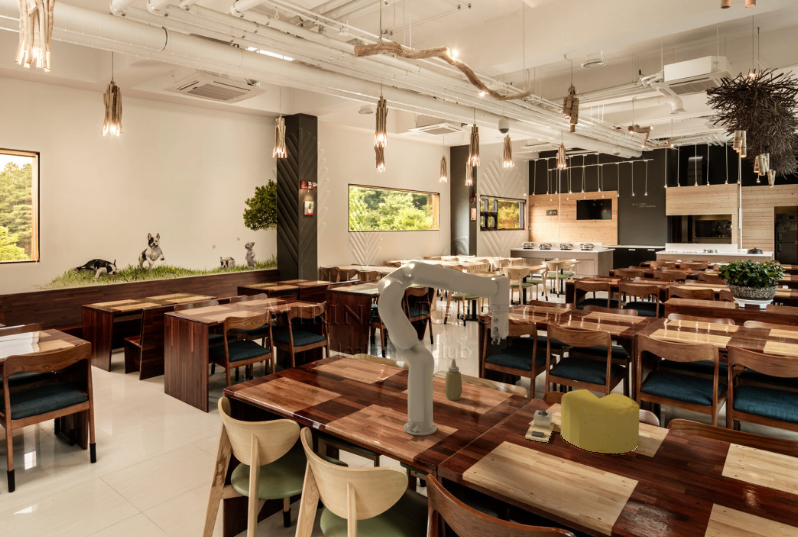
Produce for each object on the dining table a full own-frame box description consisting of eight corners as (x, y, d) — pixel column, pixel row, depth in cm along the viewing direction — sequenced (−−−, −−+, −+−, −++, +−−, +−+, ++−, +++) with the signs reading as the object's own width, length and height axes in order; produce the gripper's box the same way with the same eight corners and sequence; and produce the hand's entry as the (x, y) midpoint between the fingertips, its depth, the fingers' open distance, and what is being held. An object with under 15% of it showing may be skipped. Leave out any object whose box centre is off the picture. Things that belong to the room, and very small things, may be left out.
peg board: (547, 443, 172) (548, 426, 172) (524, 439, 176) (525, 422, 175) (555, 424, 190) (555, 408, 190) (534, 420, 194) (534, 405, 193)
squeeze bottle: (463, 401, 217) (463, 361, 215) (445, 401, 217) (445, 361, 216) (461, 395, 225) (461, 357, 223) (443, 395, 225) (444, 357, 224)
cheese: (599, 421, 193) (600, 384, 192) (655, 447, 169) (657, 405, 168) (545, 431, 184) (546, 392, 183) (596, 460, 160) (597, 415, 159)
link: (549, 427, 183) (549, 417, 183) (533, 425, 186) (533, 415, 186) (552, 422, 189) (552, 412, 189) (536, 419, 191) (536, 410, 191)
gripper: (503, 312, 181) (503, 357, 182) (513, 306, 196) (513, 348, 197) (484, 310, 184) (483, 355, 185) (495, 305, 199) (494, 346, 200)
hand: (498, 351), depth 191 cm, fingers open, 9 cm apart
